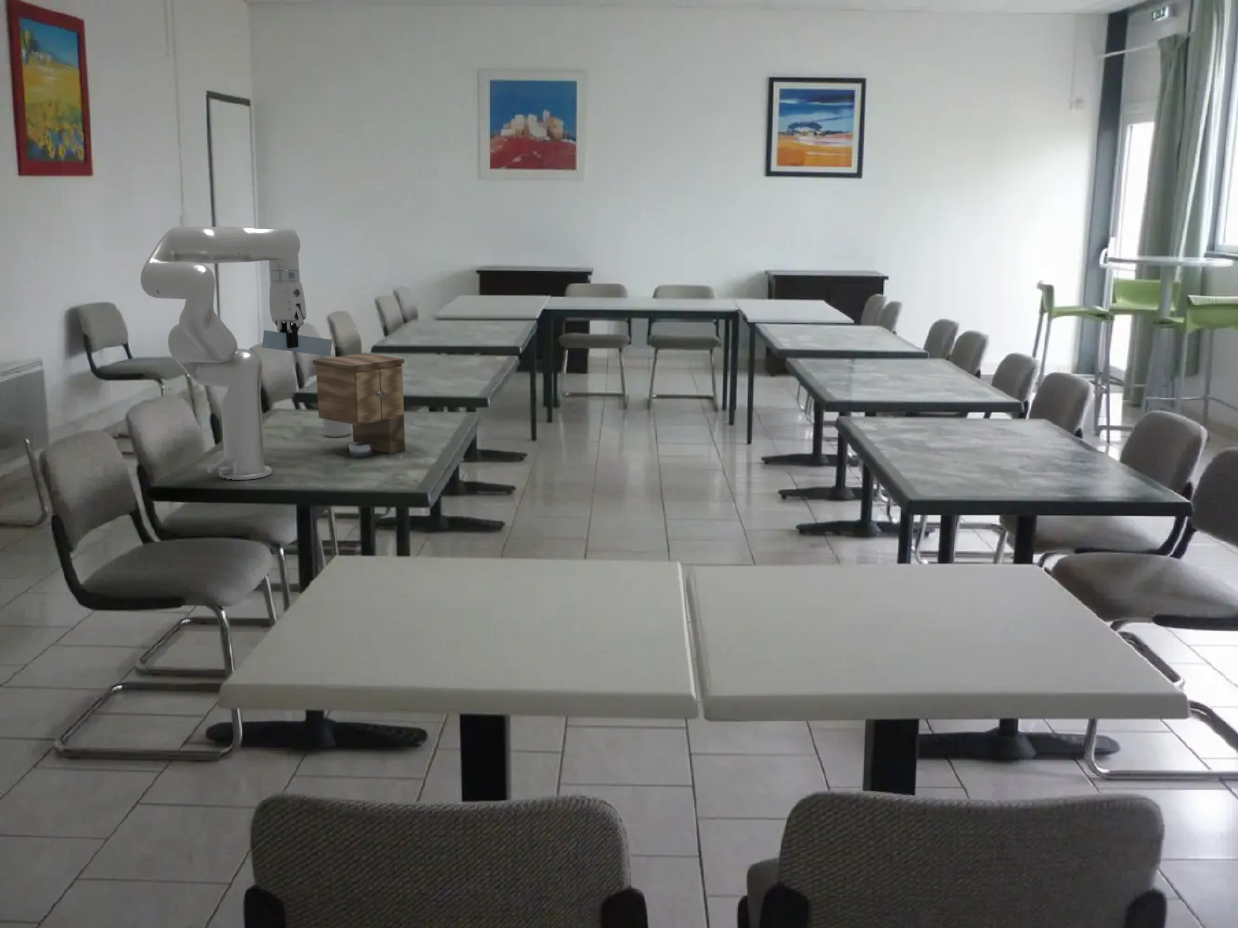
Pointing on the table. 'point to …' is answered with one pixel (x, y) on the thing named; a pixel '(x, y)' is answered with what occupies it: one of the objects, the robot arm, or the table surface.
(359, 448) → the puck
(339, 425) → the can
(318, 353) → the slat
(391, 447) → the cabinet
